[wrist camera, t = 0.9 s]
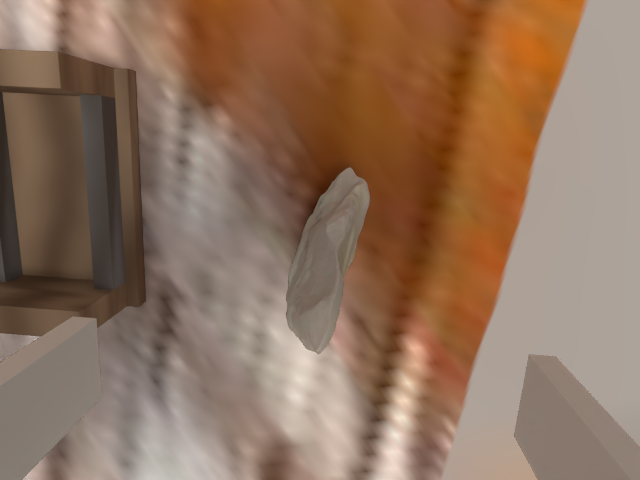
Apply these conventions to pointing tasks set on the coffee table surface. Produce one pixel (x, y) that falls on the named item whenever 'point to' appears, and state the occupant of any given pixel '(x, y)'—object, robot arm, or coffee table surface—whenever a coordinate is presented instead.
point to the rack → (67, 192)
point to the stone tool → (325, 260)
